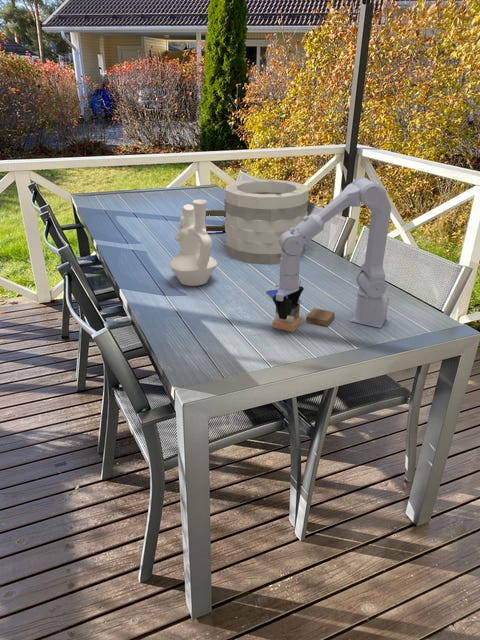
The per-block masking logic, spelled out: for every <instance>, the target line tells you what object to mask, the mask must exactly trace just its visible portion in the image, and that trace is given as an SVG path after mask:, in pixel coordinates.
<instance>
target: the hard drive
mask: <svg viewBox="0 0 480 640" xmlns="http://www.w3.org/2000/svg"><path fill="white" fill-rule="evenodd" d="M277 293H278V288H277V289H272V290H271V289H270V290H266V292H265V294H266V295H267V296H268V297H269V299H271V300H272V301H273V297H274V296H275V295H276V294H277ZM286 298H287V299H288V296H287V295H286ZM298 303H299V304H300V305H302V304H303V301H302V300H301V299H299V300H298Z"/></svg>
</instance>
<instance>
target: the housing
mask: <svg viewBox="0 0 480 640" xmlns="http://www.w3.org/2000/svg"><path fill="white" fill-rule="evenodd" d="M300 305H301V304H299V303H294V302H291V303H290V306H289V309H288V314H287V318H286V320H284V319H280V318H279V315H278V311H277V307H276V306H275V316H274V317H275V318H274V319H275V320H278V321H282V322H286V323H290V324H294V323H295V322H296V321H297V320H298V319H299V317H300V311H301V310H300V308H301V307H300Z"/></svg>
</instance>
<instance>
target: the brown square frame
mask: <svg viewBox="0 0 480 640" xmlns="http://www.w3.org/2000/svg"><path fill="white" fill-rule="evenodd" d="M209 215H210V216H224V217H226V211H225V209H223V210H220V209H210V210H209V209H208V210H207V209H206V216H209ZM206 231H225V225H222V226H206Z"/></svg>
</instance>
